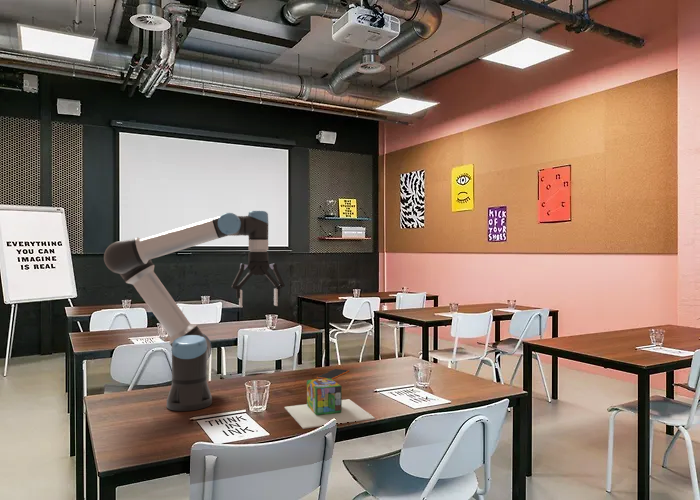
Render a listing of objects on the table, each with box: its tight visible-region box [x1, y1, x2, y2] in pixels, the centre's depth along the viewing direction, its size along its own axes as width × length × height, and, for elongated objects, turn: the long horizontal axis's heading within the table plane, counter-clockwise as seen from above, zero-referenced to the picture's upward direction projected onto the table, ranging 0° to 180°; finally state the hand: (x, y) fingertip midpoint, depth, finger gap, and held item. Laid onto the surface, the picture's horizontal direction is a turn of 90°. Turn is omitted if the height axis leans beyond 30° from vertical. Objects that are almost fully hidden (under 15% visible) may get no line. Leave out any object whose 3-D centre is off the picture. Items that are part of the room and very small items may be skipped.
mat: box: [284, 398, 376, 430], centre depth 168 cm, size 24×22×1 cm
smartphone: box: [316, 368, 350, 380], centre depth 221 cm, size 8×17×1 cm, turn 153°
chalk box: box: [306, 378, 343, 415], centre depth 169 cm, size 9×9×15 cm
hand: (258, 306), depth 195 cm, fingers open, 13 cm apart
